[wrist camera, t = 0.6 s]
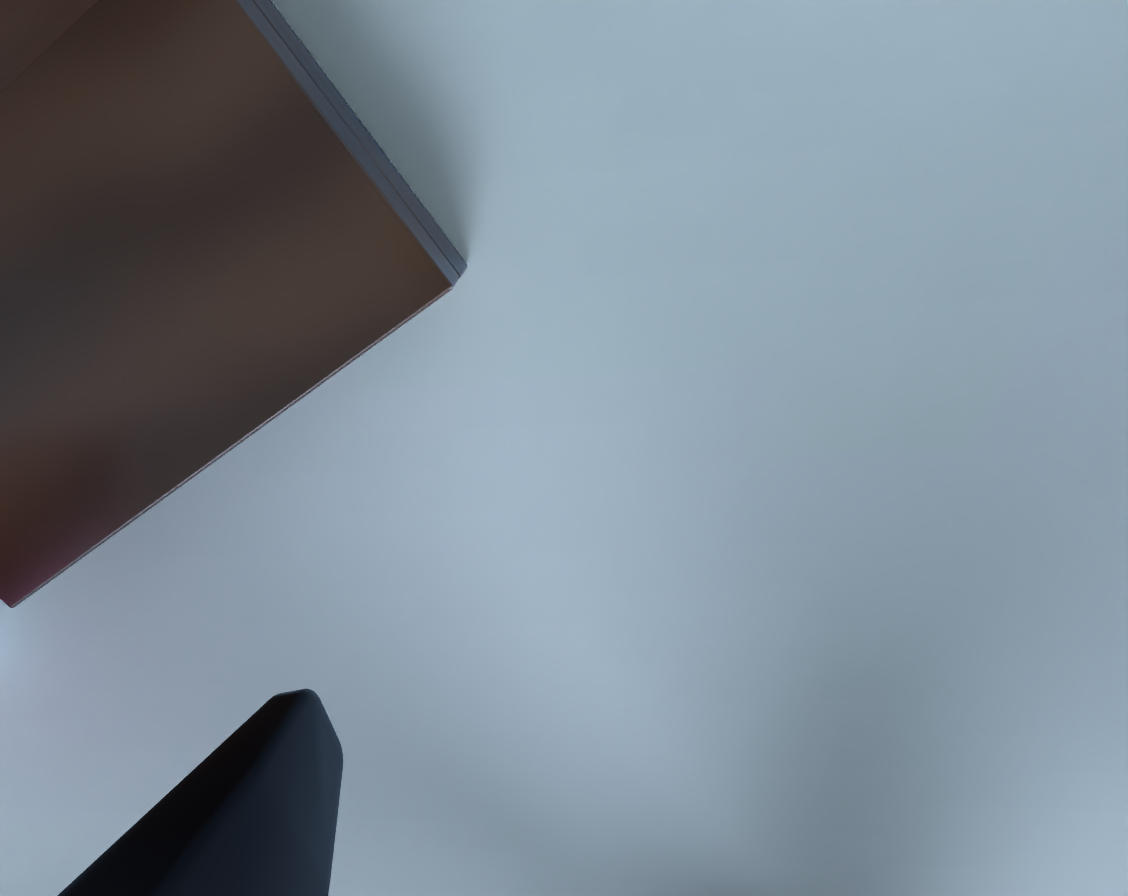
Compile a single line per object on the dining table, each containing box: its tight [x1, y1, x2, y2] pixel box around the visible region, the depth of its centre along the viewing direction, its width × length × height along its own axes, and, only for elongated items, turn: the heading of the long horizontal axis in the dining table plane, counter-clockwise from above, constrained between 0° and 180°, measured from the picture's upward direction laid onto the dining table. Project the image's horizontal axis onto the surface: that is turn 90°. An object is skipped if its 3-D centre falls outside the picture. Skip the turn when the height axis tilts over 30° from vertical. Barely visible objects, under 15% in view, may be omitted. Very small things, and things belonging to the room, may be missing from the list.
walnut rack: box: [0, 0, 467, 608], centre depth 19 cm, size 10×15×7 cm, turn 125°
